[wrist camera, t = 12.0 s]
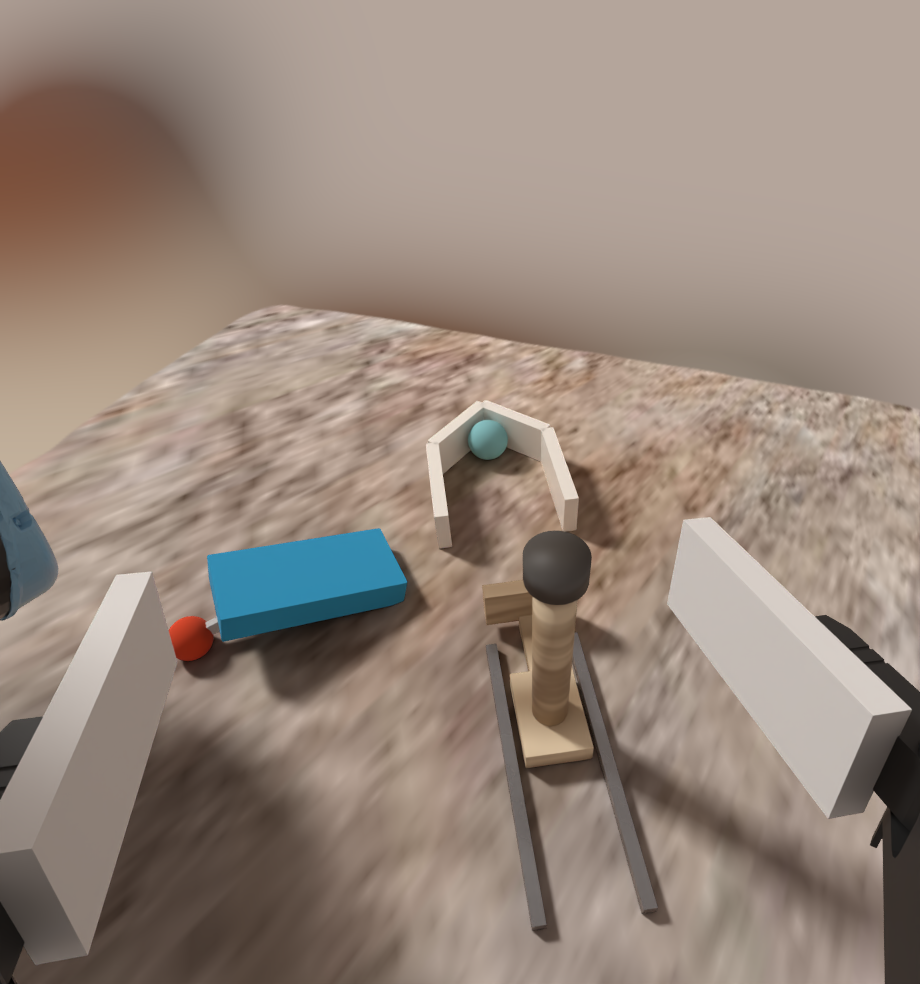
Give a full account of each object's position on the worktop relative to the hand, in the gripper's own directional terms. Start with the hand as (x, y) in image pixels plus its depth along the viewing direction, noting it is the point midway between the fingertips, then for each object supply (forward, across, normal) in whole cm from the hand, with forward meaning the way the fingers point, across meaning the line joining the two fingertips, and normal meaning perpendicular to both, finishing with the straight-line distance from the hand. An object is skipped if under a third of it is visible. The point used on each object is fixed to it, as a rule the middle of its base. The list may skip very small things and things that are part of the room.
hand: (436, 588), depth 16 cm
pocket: (+41, +11, -19) cm, 46 cm away
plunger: (+19, +10, -24) cm, 33 cm away
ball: (+44, +11, -16) cm, 48 cm away
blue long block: (+31, -8, -24) cm, 40 cm away
